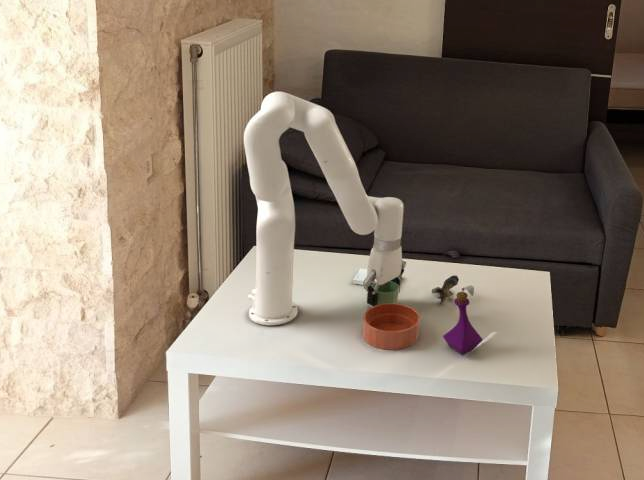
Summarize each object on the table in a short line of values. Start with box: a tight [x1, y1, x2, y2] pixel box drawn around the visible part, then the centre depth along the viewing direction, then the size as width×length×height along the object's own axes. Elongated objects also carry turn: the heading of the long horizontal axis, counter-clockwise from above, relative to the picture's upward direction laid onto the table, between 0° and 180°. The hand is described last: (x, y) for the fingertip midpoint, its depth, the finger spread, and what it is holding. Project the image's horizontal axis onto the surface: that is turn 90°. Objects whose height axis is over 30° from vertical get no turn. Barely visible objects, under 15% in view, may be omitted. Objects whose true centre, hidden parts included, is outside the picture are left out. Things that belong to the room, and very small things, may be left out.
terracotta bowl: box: [362, 303, 421, 351], centre depth 191 cm, size 15×15×6 cm
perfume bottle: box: [442, 285, 484, 356], centre depth 187 cm, size 8×8×18 cm
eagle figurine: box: [431, 274, 460, 306], centre depth 214 cm, size 8×7×9 cm
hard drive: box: [352, 267, 377, 286], centre depth 221 cm, size 2×8×12 cm
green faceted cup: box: [369, 281, 400, 308], centre depth 205 cm, size 8×8×6 cm
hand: (383, 298), depth 205 cm, fingers open, 9 cm apart
